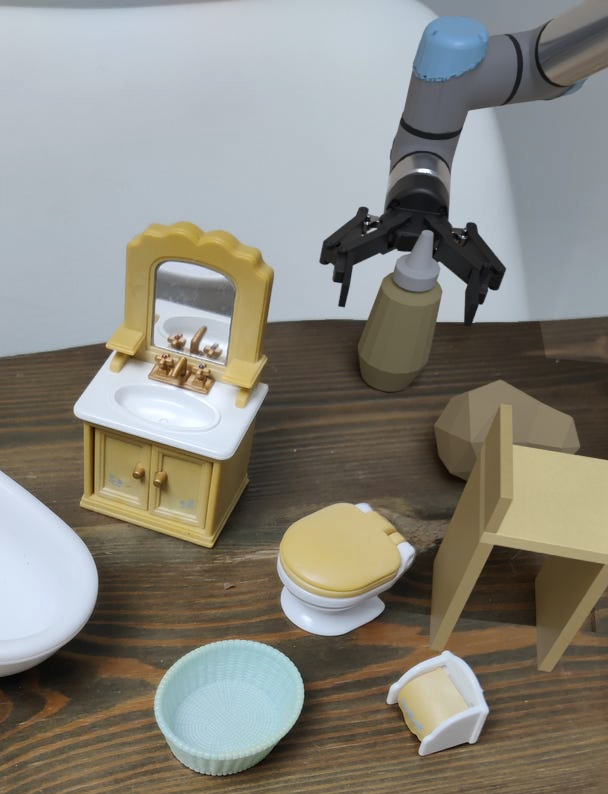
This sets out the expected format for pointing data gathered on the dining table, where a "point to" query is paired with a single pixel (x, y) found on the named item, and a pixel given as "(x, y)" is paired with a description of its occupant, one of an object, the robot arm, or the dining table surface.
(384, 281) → the squeeze bottle
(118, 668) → the dining table surface
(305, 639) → the dining table surface
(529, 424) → the low-poly potato
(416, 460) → the dining table surface
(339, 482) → the dining table surface
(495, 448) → the tan chair
